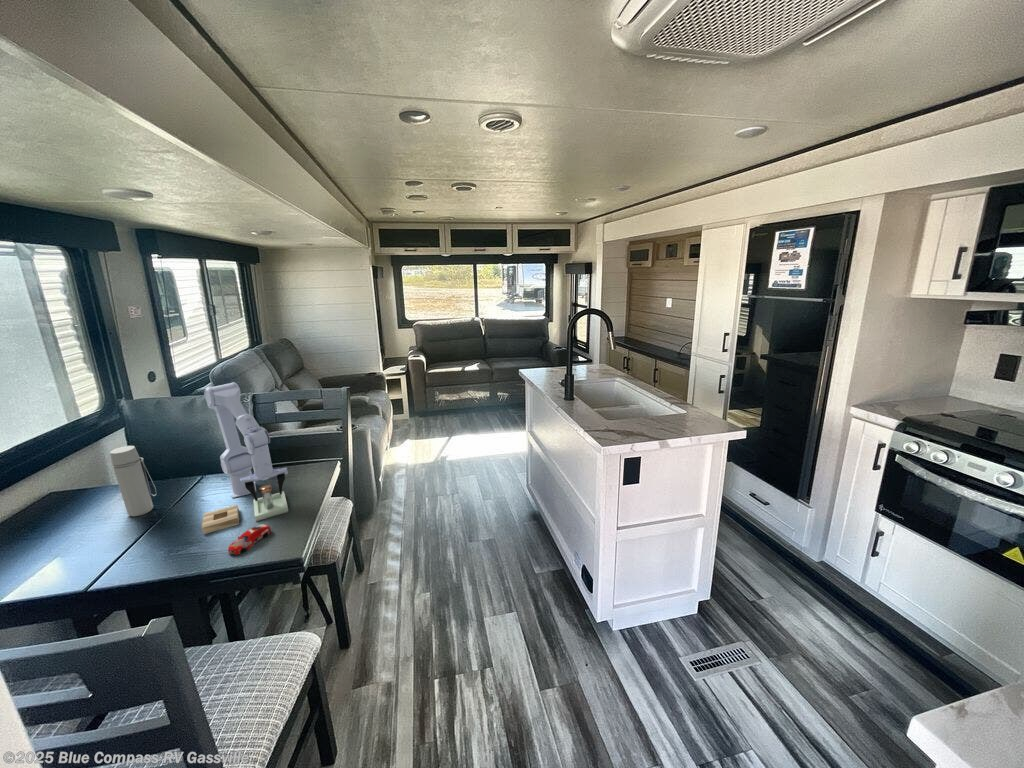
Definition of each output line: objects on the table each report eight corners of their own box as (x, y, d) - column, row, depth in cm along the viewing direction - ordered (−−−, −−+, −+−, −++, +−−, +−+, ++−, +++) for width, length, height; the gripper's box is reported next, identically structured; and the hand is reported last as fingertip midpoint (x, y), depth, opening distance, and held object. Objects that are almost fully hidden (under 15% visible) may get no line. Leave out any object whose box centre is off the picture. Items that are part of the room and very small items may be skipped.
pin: (263, 506, 150) (259, 487, 148) (274, 503, 152) (271, 484, 150) (263, 511, 147) (259, 491, 145) (275, 507, 149) (271, 488, 147)
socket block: (205, 519, 144) (203, 513, 143) (238, 510, 149) (237, 504, 148) (203, 534, 136) (201, 527, 135) (239, 524, 141) (237, 517, 140)
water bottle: (127, 520, 144) (107, 456, 137) (128, 511, 150) (108, 449, 143) (161, 510, 150) (143, 448, 143) (160, 501, 155) (143, 441, 149)
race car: (236, 558, 124) (234, 547, 123) (224, 554, 126) (221, 543, 125) (274, 533, 136) (272, 522, 135) (263, 529, 138) (260, 519, 137)
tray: (254, 504, 153) (253, 499, 152) (284, 495, 158) (283, 491, 158) (255, 521, 142) (254, 516, 142) (288, 511, 148) (287, 506, 147)
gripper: (237, 472, 138) (245, 507, 142) (285, 461, 146) (292, 495, 149) (237, 464, 144) (245, 498, 148) (283, 454, 151) (290, 486, 155)
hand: (268, 496), depth 149 cm, fingers open, 7 cm apart
